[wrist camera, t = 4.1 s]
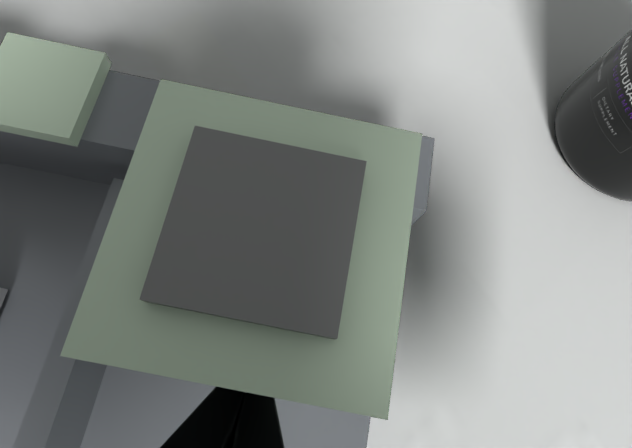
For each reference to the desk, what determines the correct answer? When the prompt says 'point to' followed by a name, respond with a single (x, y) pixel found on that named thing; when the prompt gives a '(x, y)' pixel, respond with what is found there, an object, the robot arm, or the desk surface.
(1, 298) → the grey block
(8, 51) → the block sorting stand
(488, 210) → the desk surface
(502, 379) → the desk surface
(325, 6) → the desk surface
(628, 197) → the supplement bottle
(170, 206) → the pale green tall block
